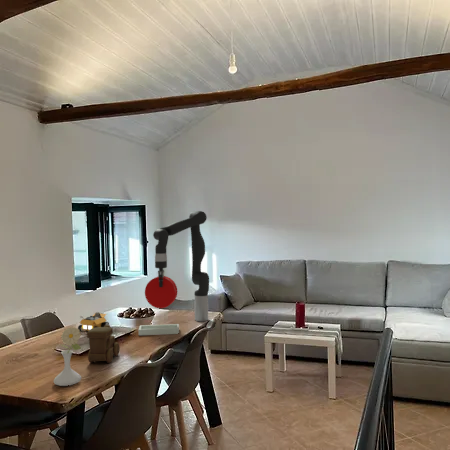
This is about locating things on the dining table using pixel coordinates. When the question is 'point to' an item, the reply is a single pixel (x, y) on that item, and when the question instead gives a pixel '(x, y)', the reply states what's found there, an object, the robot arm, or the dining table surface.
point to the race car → (93, 322)
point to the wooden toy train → (102, 344)
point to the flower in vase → (68, 375)
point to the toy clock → (161, 292)
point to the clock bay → (159, 329)
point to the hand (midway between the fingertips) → (161, 286)
